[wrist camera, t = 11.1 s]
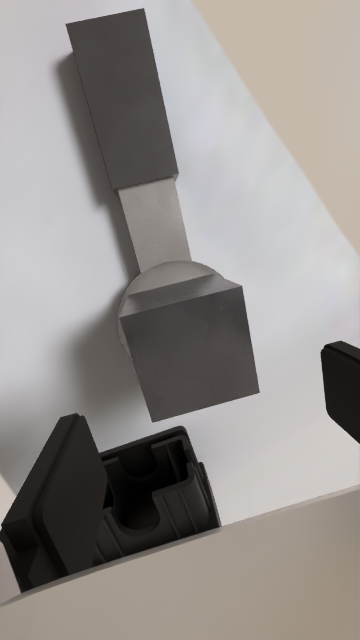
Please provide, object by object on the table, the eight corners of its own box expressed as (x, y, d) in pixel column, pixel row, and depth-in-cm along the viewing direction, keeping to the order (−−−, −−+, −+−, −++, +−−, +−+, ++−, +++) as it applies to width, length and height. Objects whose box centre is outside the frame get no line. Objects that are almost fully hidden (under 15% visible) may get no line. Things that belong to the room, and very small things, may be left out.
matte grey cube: (212, 273, 18) (242, 285, 12) (227, 350, 20) (259, 392, 14) (128, 294, 18) (119, 317, 12) (151, 371, 20) (152, 422, 14)
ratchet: (242, 354, 22) (268, 385, 17) (137, 382, 21) (134, 422, 17) (183, 26, 16) (199, -75, 11) (34, 57, 15) (-21, -34, 10)
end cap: (111, 514, 25) (98, 607, 19) (81, 458, 23) (55, 541, 16) (209, 479, 25) (230, 559, 19) (188, 421, 23) (204, 488, 17)
